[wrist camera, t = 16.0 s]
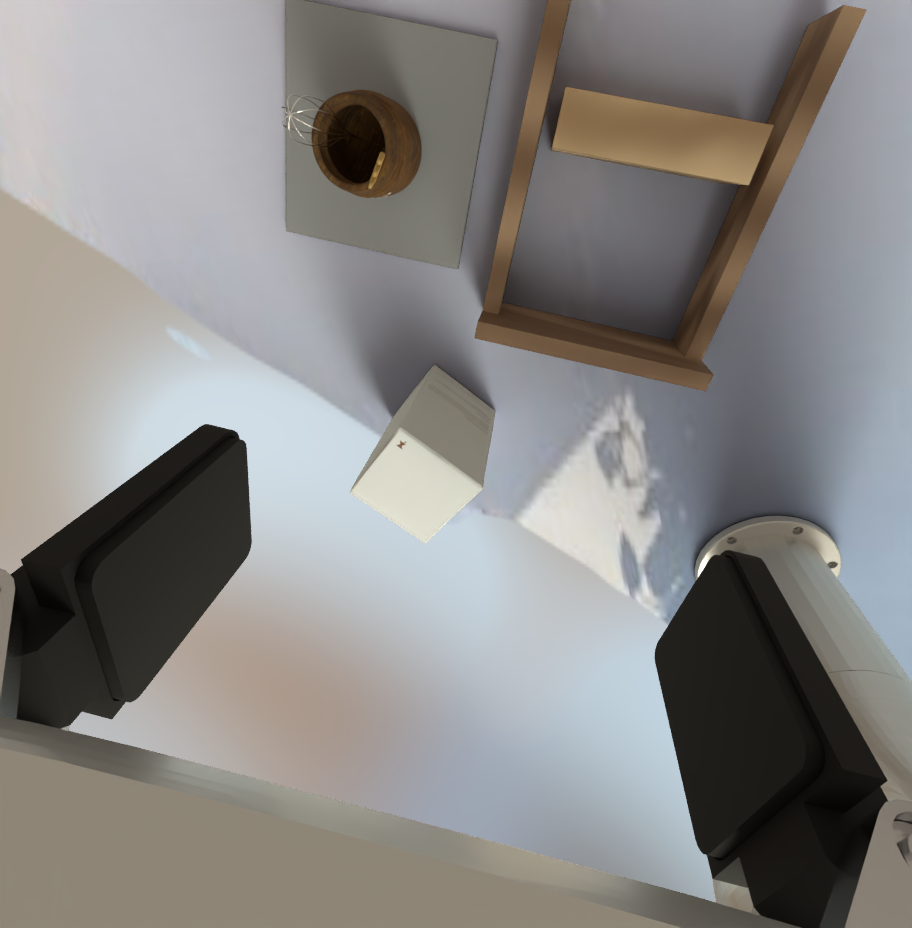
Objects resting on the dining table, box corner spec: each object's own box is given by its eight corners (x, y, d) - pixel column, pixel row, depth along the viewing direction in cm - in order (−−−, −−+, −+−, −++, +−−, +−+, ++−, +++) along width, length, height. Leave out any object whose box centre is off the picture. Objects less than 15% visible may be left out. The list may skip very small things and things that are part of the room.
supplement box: (390, 418, 47) (344, 491, 36) (435, 361, 43) (399, 424, 32) (450, 463, 48) (424, 547, 38) (499, 412, 45) (485, 488, 34)
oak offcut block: (723, 183, 34) (748, 185, 29) (551, 150, 34) (552, 147, 30) (743, 131, 32) (773, 125, 28) (563, 97, 33) (565, 86, 28)
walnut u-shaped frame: (681, 358, 40) (705, 391, 34) (484, 313, 40) (474, 338, 34) (828, 28, 29) (902, -9, 23) (556, -26, 29) (559, -76, 24)
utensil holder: (361, 78, 33) (279, 36, 23) (442, 130, 34) (398, 112, 24) (331, 168, 36) (248, 167, 26) (407, 214, 37) (355, 230, 27)
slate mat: (458, 268, 39) (457, 269, 38) (289, 230, 39) (286, 231, 39) (497, 41, 31) (497, 39, 31) (288, -2, 32) (285, -4, 32)
